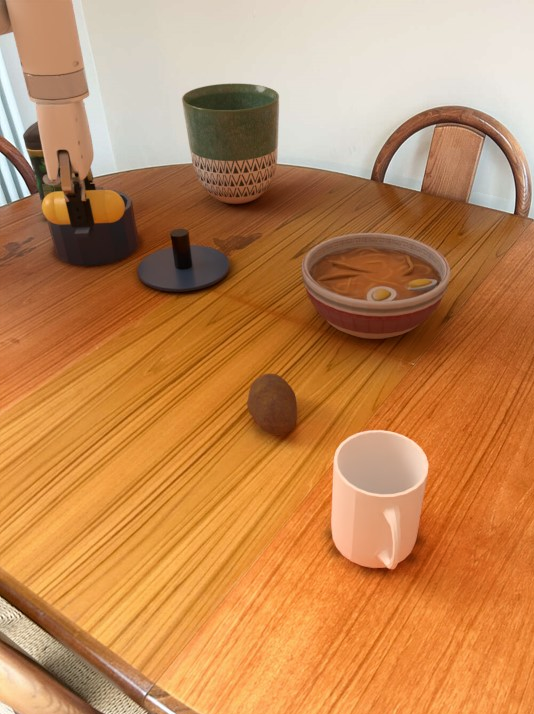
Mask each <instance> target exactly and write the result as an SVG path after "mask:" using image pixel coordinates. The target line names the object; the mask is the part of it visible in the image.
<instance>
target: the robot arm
mask: <svg viewBox="0 0 534 714" xmlns="http://www.w3.org/2000/svg"><path fill="white" fill-rule="evenodd" d="M77 25H78V24H77V20H76V15H75V8H74V4H73V0H0V36H3V35H7V34H11V33H13V38H14V41H15V45H16V46H15V47H16V49H17V54H18V58H19V62H20V66H21V71H22V74H23V78H24V82H25V86H26V91H27V95H28V98H29V100H30V101H31V102H33V103H35V112H36V113H35V114H36V120H37V121H38V127H39V133H40V139H41V144H42V149H43V154H44V159H45V164H46V169H47V174H48V178H49V179H50V180H51V181H55V180H57V178H58V176H59V174H61V186H62V191H63V192H64V197H65V202H66V206H67V210H68V215H69V219H70V223H71V226H72V227H73V228H79V227H93V226H94V218H93V214H92V209H91V204H90V199H87V196H86V190H96V188H95V187H96V183H94V175H93V171H92V163H93V161H94V145H93V140H92V134H91V129H90V125H89V119H88V115H87V109H86V106H85V105H86V104H85V102H84V100H85V99H87V98H89V96H90V90H89V85H88V84H89V83H88V78H87V73H86V69H85V63H84V58H83V52H82V47H81V41H80V37H79V36H80V35H79V31H78V26H77ZM37 121H36V122H37ZM73 183H77V184H73Z"/></svg>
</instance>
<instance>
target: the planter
mask: <svg viewBox="0 0 534 714" xmlns="http://www.w3.org/2000/svg"><path fill="white" fill-rule="evenodd" d="M181 103H182V110H183V116H184V121H185V127H186V135H187V139H188V146H189V151H190V156H191V163H192V167H193V170H194V173H195V175H196V178H197V181H198V182H199V184H200V185H201V187H202V188H203V189H204V191H206V192H207V193H208V194H209V195H210V196H211V197H212V198H214V199H215V200H218V201H219V202H222V203H225V204H232V205H240V204H242V205H243V204H246V203H250V202H253V201H255V200H256V199H258V198H259V197H261V196H262V195H263V194H264V193H265V192H266V191H267V190H268V188H269V187H270V186H271V185H272V183H273V180H274V178H275V174H276V170H277V165H278V153H279V152H278V151H279V120H280V119H279V118H280V95H279V93H278V92H277V90H275V89H273V88H270V87H267V86H265V85H260V84H252V83H238V82H237V83H234V82H233V83H218V84H210V85H205V86H200V87H197V88H193V89H191V90H189V91H187V92H185V93H184V94H183V95H182V97H181Z"/></svg>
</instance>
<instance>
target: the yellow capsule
mask: <svg viewBox="0 0 534 714" xmlns="http://www.w3.org/2000/svg"><path fill="white" fill-rule="evenodd" d="M112 190H113V189H109V190H86V196H87V199H90V204H91V209H92V214H93V218H94V223H112V222H116V221H118V220H119V219H120V218H121V217H122V216H123V214H124V211H125V204H124V201H123V199H122V197H121V196H120V195H119V194H118V193H116V192H114V191H112ZM41 211H42V214H43V216H44V217H45V218H46V220H47V219H48V220H49V221H50V222H52V223H54V224H58V225H66V224H71V223H70V219H69V215H68V210H67V206H66V202H65V197H64V192H63V191H56V192H52V193H49V194H48V195H47V196H46V197H45V198H44V200H43V202H42V204H41Z"/></svg>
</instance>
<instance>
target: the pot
mask: <svg viewBox="0 0 534 714" xmlns="http://www.w3.org/2000/svg"><path fill="white" fill-rule="evenodd" d="M95 188H96V190H110V189H108V188H104V187H103V186H98V187H96V186H95ZM111 190H112V191H114V192H116V193H118V194H119V195H120V196H121V197H122V199H123V201H124V204H125V211H124V214H123V216H122V217H121V218H120V219H119V220H118V221H116V222H112V223H94V226H93V227H79V228H73V227H72V226H71V224H66V225H58V224H54V223H52V222H50V221H49V220H48V219H47V218H46V221H47V226H48V230H49V233H50V237H51V240H52V245H53V249H54V251H55V253H56V256H57V258H58V259H59V260H61V261H63V262H64V263H66V264H68V265H69V264H70V265H73V266H79V267H80V266H82V267H94V266H102V265H103V266H104V265H107V264H113V263H115V262H118V261H121V260H124V259H125V258H127V257H129V256H131V255H132V254H134V252H135V251H137V249H138V247H139V233H138V227H137V223H136V216H135V211H134V205H133V200H132V199H131V197H129V195H128V194H127V193H125V192H121V191H119V190H116V189H111Z"/></svg>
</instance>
